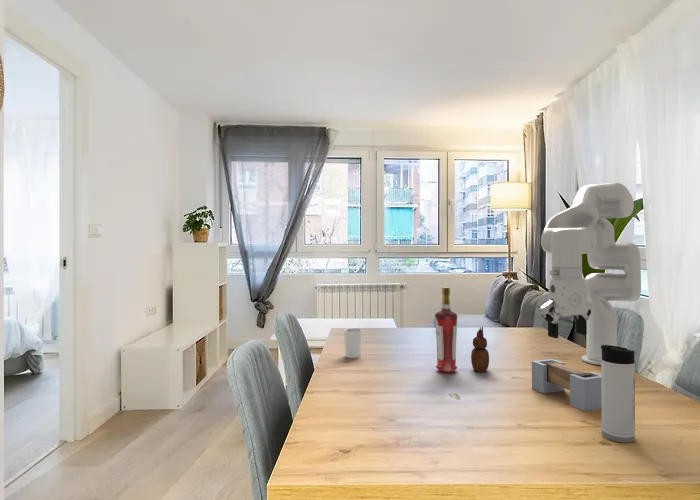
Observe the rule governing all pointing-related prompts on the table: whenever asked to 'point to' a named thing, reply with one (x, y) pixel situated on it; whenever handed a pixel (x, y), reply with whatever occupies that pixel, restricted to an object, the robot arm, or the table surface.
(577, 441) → the table surface
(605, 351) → the travel mug
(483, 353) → the wooden figurine
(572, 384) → the post
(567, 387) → the rail
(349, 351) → the drinking glass
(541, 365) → the post
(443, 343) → the liquor
